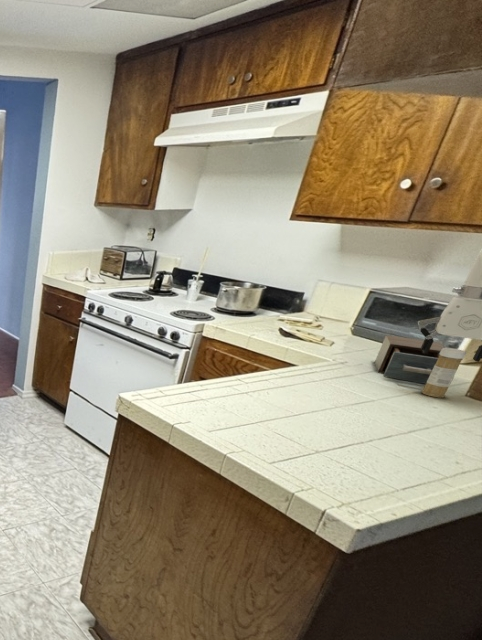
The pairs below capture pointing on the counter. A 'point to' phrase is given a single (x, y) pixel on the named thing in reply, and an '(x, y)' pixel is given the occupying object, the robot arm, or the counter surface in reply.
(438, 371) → the sprinkles bottle
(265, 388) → the counter surface
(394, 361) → the drawer
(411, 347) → the cabinet
